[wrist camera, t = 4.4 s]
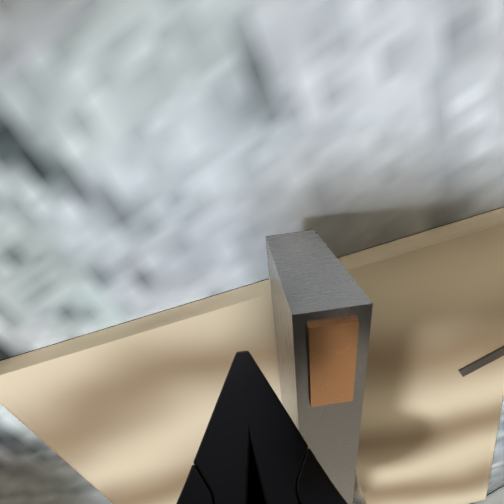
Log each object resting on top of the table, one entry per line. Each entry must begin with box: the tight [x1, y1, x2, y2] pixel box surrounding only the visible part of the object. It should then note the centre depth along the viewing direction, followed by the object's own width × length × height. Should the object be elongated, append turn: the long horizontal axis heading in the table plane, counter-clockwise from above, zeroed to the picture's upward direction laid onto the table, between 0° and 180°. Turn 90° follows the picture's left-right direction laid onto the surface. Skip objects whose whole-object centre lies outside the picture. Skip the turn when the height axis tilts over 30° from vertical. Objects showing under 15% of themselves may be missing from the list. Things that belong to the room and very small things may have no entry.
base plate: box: [0, 207, 504, 504], centre depth 16 cm, size 22×22×1 cm
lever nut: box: [266, 230, 373, 504], centre depth 11 cm, size 18×5×4 cm, turn 6°
